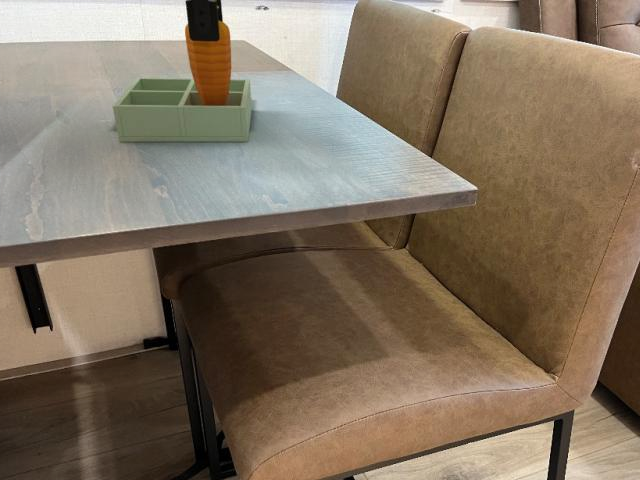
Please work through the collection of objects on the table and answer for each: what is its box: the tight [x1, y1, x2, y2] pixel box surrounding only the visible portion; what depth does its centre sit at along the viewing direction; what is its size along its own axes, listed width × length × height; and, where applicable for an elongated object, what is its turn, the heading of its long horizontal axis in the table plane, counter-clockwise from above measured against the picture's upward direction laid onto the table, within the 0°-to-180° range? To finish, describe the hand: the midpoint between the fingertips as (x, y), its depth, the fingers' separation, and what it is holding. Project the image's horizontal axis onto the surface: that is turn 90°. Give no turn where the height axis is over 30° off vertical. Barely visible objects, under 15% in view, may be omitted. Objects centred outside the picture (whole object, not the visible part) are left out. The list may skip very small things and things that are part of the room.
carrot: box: [184, 0, 232, 106], centre depth 74 cm, size 5×5×15 cm
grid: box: [112, 77, 253, 143], centre depth 80 cm, size 15×15×4 cm
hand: (207, 34), depth 73 cm, fingers closed on carrot, 4 cm apart
